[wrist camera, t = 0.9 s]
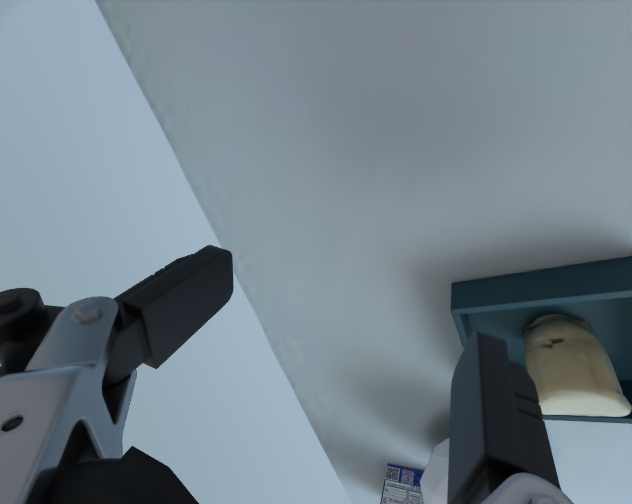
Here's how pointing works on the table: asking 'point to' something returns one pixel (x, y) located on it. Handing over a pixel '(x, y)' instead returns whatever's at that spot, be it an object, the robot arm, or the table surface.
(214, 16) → the table surface
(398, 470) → the beverage box
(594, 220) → the table surface
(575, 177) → the table surface
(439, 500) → the geodesic sphere
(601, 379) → the cream rounded oblong block
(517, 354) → the box
